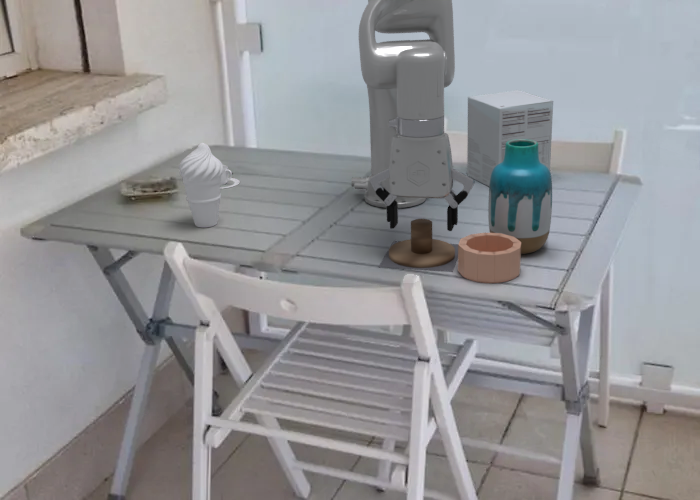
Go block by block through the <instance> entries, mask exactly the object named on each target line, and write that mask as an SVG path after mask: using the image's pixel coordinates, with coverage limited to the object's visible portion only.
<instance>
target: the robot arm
mask: <svg viewBox="0 0 700 500" xmlns="http://www.w3.org/2000/svg"><path fill="white" fill-rule="evenodd" d="M454 31H455V30H454V10H453V0H367V5H366V6H365V8H364V11H363V12H362V15H361V17H360V22H359V25H358V48H359V59H360V68H361V69H360V71H361V75H362V80H363V81H364V83H365V84H366V88H367V97H368V107H369V109H368V111H369V132H370V133H369V136H370V141H369V142H370V163H371V164H370V167H371V168H370V173H371V175H370V176H367V177H357V176H355V177H353V176H352V177H351V182H350V185H351V187H353V188H354V190H365V191H366V192H364V195H363V196H364V201H365V202H366V203H367V204H369V205H371V206H374V207H378V208H385V209H386V222H387V223H389V227H390V229H395V228H396V227H397V225H398V223H399V211H398V210H399V209H403V208H411V207H414V206H418V205H420V204H422V203H424V202H425V201H426V200H427V199H444V200H445V201H446V203H447V204H448V206H447V209H446V220H447V221H446V229H447V231H448V232H452V231H453V229H454V227H455V226H457V225H458V221H459V220H458V218H459V216H458V214H459V212H458V208H459V207H458V206H459V205H460V204H462V203H463V201H465V200H466V199H467V197H468V195H469V194H470V192H471V190H472V189H473V186H474V185H475V182H476V180H475V179H473V178H471V177H469V176H468V175H467V174H466V175H465V174H464V173H461V172H460V171H458V170H456V169H454V168H453V155H452V148H451V143H450V137H449V134H448V133H447V132H445V88H447V87H449V86H450V85H451V84H452V83H453V81H454V79H455V71H456V70H455V69H456V68H455V67H456V66H455V63H456V61H455V58H456V56H455V36H454V35H455V34H454V33H455V32H454ZM376 32H377V33H380V34H413V33H414V34H415V33H424V34H425V33H426V34H427V36H428V37H429V39H412V40H411V39H406V40H405V39H403V40H386V41H381V42H377V41H376ZM454 181H456V182H458V183H459V184H461V185H463V188H462V189H461V191H460V192H459V193H457V194H456V192H455V191H454V190H453V187H454Z"/></svg>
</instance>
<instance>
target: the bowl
mask: <svg viewBox="0 0 700 500" xmlns="http://www.w3.org/2000/svg"><path fill="white" fill-rule="evenodd" d="M457 244H458V259H457V272H459V275H460V276H461V277H463V278H464V279H467V280H468V281H472V282H476V283H484V284H497V283H498V284H500V283H505V282H509V281H512V280H514V279H516V278H517V277H518V276H519V275H520V272H521V267H522V266H521V265H522V263H521V262H522V254H521V242H520V241H519V240H518V239H516V238H515V237H513V236H509V235H505V234H502V233H490V232H479V233H472V234H468V235H467V236H466V235H465V236H464V237H462V238H460V239H459V242H458V243H457Z"/></svg>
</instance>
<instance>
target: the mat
mask: <svg viewBox="0 0 700 500" xmlns="http://www.w3.org/2000/svg"><path fill="white" fill-rule="evenodd" d="M400 241H401V240H393V241H392V243H391V244H390V246H389V248H390V247H391V246H392V245H394V244H395V243H398V242H400ZM450 244H451V245H452V246H453V247H454V248H455V257H454V259H453V260H452V261H451V262H449V263H447V264H445V265H441V266H437V267H430V268H412V267H406V266H402V265H398V264H396V263H394V262H393V261H391V260H390V258H389V248H388V250H387V251H386V253H385V254H384V257H383V258H382V259H381V262H380V263H379V265H378V268H385V269H388V268H389V269H398V270H401V269H402V270H416V271H431V272H445V273H447V272H449V273H453V272H454V269H455V267H456V264H457V263H458V244H459V243H450Z"/></svg>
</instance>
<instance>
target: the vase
mask: <svg viewBox="0 0 700 500" xmlns="http://www.w3.org/2000/svg"><path fill="white" fill-rule="evenodd" d="M487 207H488V210H487V211H488V215H487V216H488V229H489V230H488V232H489V233H502V234H505V235H509V236H513V237H515V238H516V239H518V240H519V241H520V242H521V255H525V254H526V255H527V254H531V253H534V252H537V251H538V250H539V251H540V249H541V248H542V247H544V245H545V244H546V242H547V241H548V238H549V235H550V230H551V223H552V211H553V208H552V207H553V182H552V174H551V170H550V171H549V169H548V168H547V166H545V165H544V164H542V163H540V161H539V149H538V143H537V142H536V141H534V140H528V139H515V140H510V141H508V142H506V145H505V155H504V160H503V162H502V163H500V164H498V165H496V166H495V167H494V169H493V171H492V173H491V178H490V185H489V186H488V206H487Z"/></svg>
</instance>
